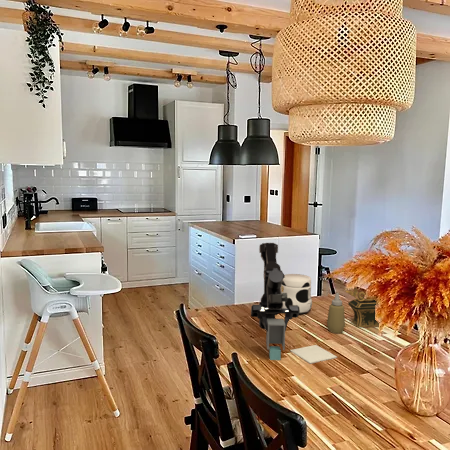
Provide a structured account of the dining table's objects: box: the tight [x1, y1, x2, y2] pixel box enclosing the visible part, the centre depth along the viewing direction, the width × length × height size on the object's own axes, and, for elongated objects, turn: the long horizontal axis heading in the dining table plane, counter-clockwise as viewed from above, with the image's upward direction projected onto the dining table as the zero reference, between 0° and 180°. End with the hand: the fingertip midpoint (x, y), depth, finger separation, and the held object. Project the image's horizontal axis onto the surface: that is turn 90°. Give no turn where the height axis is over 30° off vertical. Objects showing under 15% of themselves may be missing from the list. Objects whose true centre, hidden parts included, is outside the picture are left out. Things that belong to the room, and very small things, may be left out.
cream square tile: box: [290, 344, 338, 364], centre depth 172 cm, size 13×13×1 cm
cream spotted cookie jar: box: [281, 273, 313, 315], centre depth 225 cm, size 17×17×18 cm
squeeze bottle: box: [326, 292, 346, 334], centre depth 197 cm, size 8×8×18 cm
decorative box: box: [345, 287, 380, 328], centre depth 206 cm, size 20×10×20 cm, turn 99°
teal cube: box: [268, 345, 282, 361], centre depth 168 cm, size 4×4×4 cm
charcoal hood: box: [265, 318, 286, 351], centre depth 167 cm, size 6×6×10 cm
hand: (276, 331), depth 166 cm, fingers closed on charcoal hood, 6 cm apart
